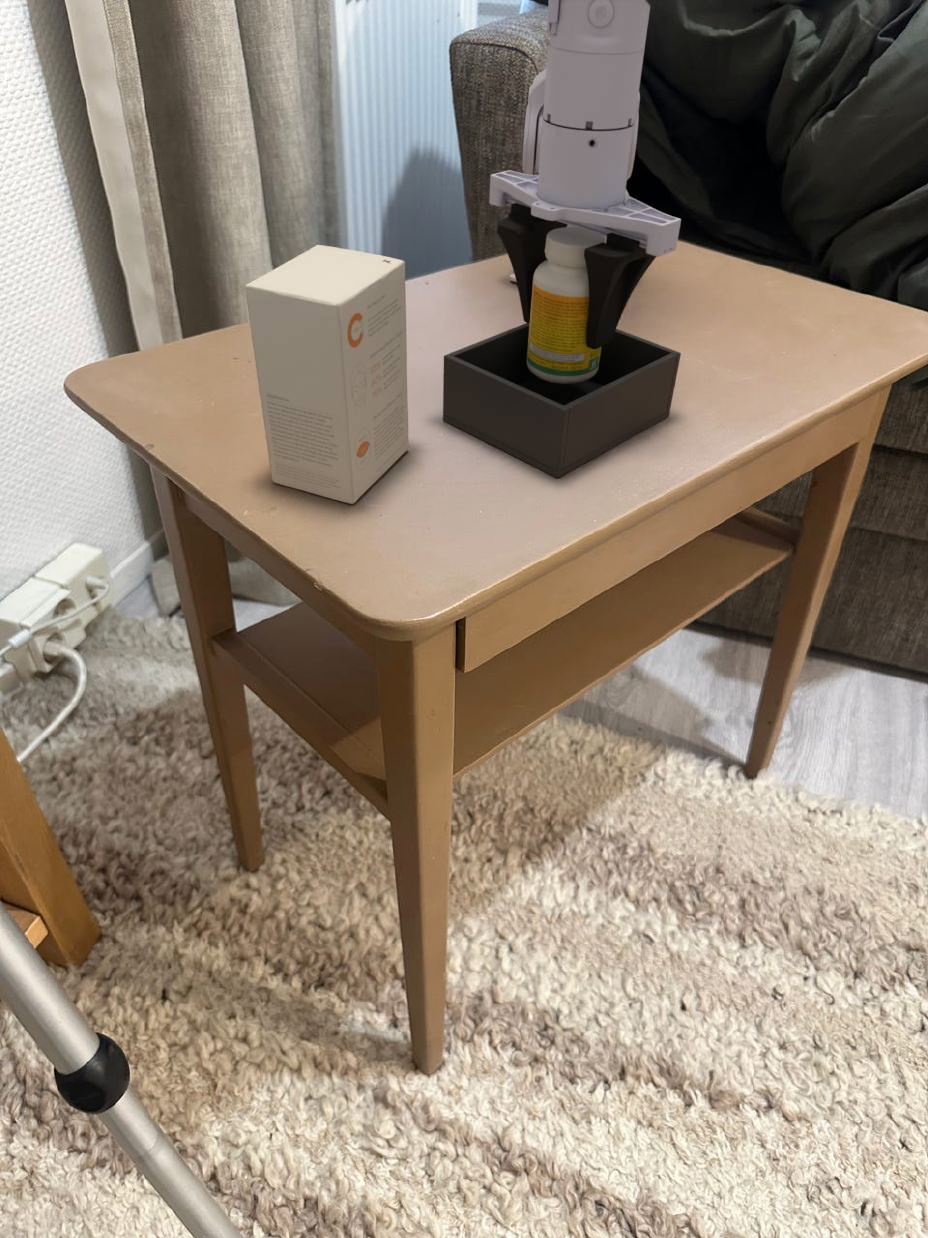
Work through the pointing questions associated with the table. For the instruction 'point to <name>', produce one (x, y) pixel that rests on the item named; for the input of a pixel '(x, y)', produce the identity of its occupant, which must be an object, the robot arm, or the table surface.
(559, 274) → the supplement bottle
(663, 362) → the open black bin
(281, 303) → the small box
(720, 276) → the table surface
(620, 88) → the robot arm
